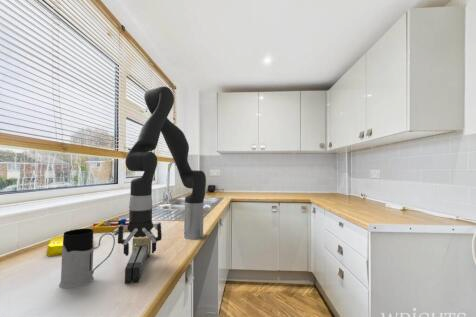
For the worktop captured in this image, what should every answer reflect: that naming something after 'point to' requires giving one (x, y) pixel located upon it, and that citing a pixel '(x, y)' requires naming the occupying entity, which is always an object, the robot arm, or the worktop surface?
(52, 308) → the worktop surface
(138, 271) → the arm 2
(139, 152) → the robot arm
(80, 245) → the glass holder
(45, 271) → the worktop surface
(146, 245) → the plate
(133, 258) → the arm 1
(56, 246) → the element tile
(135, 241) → the tan framed block
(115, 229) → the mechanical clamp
